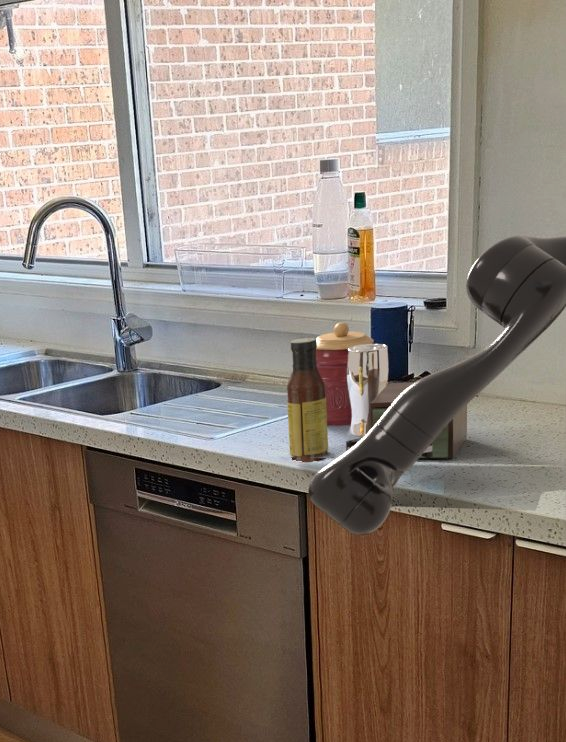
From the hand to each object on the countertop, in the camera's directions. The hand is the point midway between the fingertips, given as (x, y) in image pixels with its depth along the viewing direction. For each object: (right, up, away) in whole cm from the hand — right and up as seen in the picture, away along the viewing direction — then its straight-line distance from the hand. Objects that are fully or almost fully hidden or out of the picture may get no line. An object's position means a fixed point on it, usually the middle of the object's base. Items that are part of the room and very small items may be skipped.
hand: (400, 434), depth 184 cm
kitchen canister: (+2, +11, +41) cm, 42 cm away
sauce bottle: (-10, -1, +18) cm, 21 cm away
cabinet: (+8, +1, +15) cm, 17 cm away
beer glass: (+3, +6, +29) cm, 30 cm away
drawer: (+7, 0, +13) cm, 15 cm away
